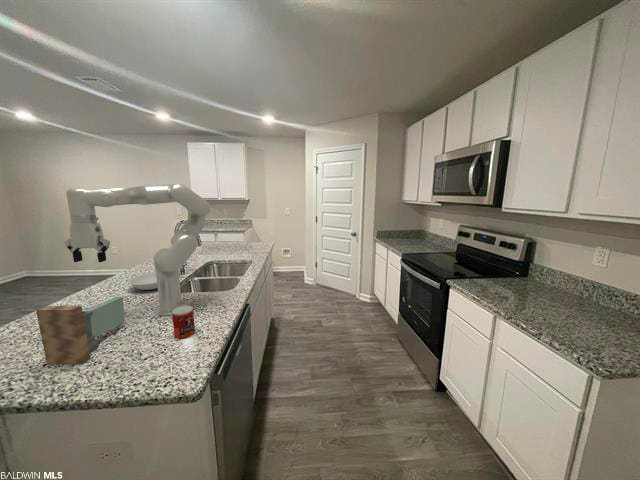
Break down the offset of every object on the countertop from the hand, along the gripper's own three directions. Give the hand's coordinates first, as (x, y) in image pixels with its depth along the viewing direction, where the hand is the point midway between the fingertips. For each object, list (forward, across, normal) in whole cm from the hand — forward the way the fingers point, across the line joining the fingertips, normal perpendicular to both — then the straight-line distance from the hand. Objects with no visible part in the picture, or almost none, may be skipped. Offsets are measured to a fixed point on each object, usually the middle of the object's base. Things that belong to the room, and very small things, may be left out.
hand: (90, 261), depth 102 cm
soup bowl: (+31, +9, -50) cm, 59 cm away
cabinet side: (+30, -7, +18) cm, 36 cm away
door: (+27, -7, +8) cm, 29 cm away
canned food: (+31, -38, +4) cm, 49 cm away
